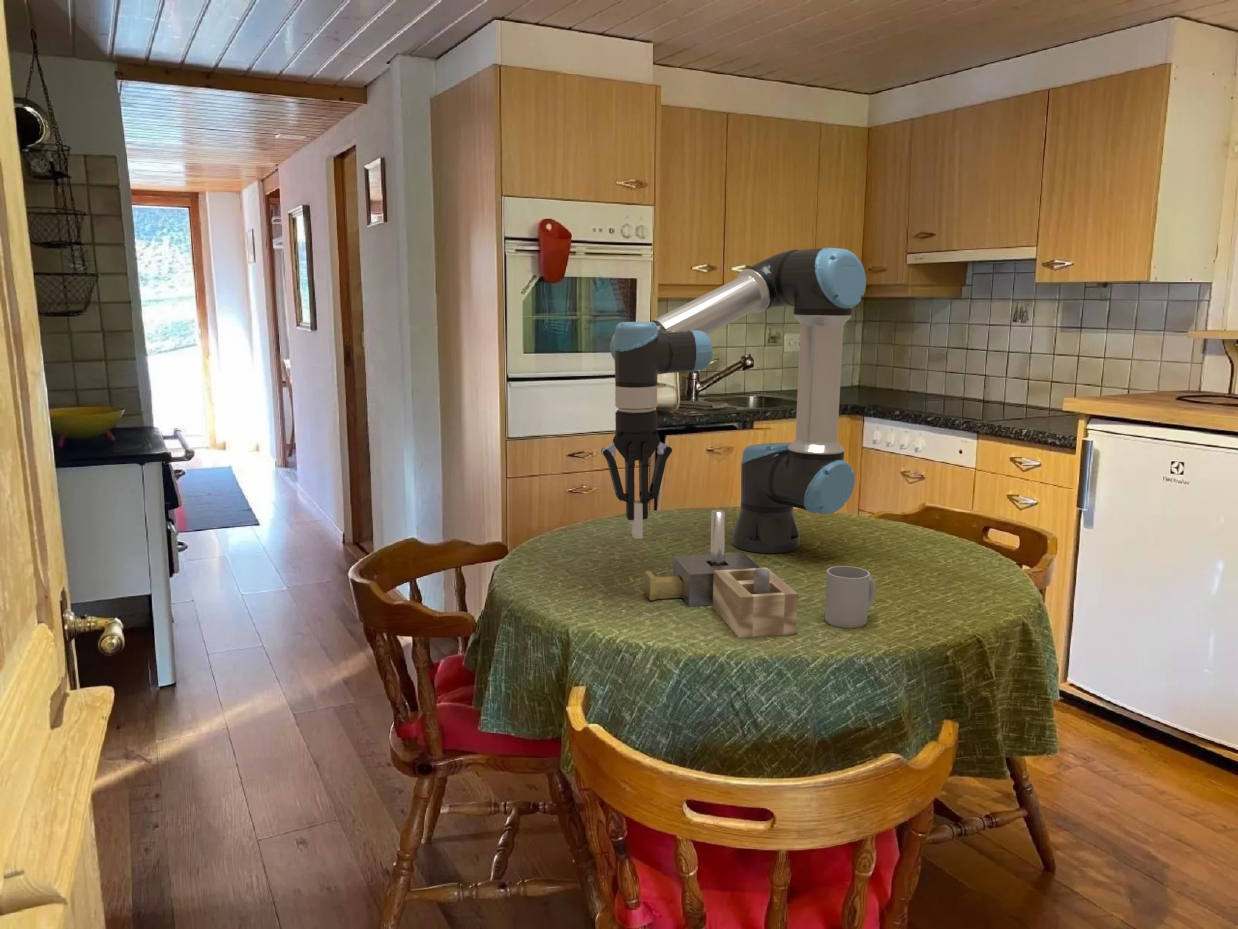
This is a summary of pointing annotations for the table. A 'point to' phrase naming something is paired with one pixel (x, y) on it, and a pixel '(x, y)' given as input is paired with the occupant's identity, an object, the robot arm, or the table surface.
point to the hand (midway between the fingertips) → (637, 536)
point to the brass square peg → (663, 586)
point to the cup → (848, 596)
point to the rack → (755, 602)
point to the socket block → (704, 574)
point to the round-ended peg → (717, 538)
